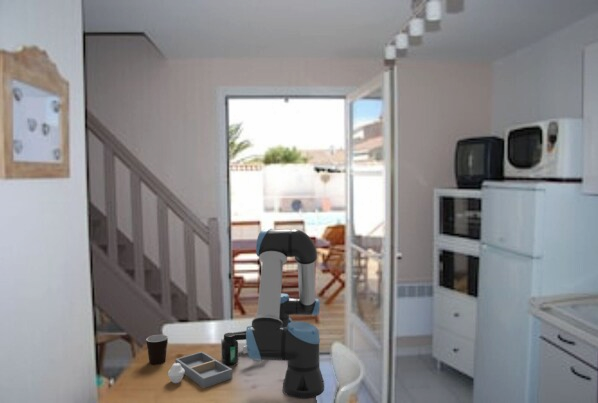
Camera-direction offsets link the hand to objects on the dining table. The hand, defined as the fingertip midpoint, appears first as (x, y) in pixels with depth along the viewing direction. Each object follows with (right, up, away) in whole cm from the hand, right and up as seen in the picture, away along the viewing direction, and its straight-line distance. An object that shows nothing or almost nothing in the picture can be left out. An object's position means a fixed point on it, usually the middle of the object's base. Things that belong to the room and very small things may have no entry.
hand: (232, 346), depth 178 cm
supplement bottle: (-1, -7, -2) cm, 7 cm away
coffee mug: (-31, -7, +1) cm, 32 cm away
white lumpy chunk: (-18, -7, -18) cm, 27 cm away
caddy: (-10, -7, -11) cm, 16 cm away
